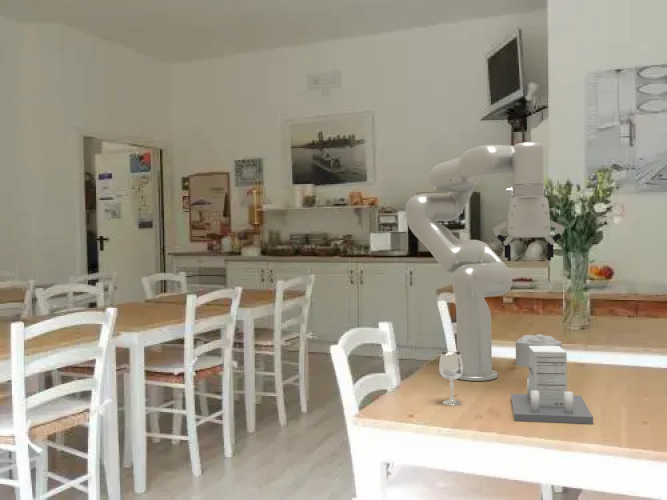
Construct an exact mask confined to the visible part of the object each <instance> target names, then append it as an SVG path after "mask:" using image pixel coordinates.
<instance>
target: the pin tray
mask: <svg viewBox="0 0 667 500" xmlns="http://www.w3.org/2000/svg"><path fill="white" fill-rule="evenodd" d="M526 385H527V386H526V389H527V390H526V391H527V393H511V395H510V400H511V405H512V413H513V419H514V421H515V422H529V423H530V422H536V423H557V424H560V423H561V424H578V425H579V424H583V425H586V424H587V425H594V417H593V415H592V412H591V411H590V409H589V407H588V406H587V404H586V403H585V400H584V399H583V397H582V396H581V395H576V394H575V395H574V392H573V391H570V390H567V391H565V392H564V407H540V406H539V391H538V390H531V399H530V398H529V377H527V379H526Z"/></svg>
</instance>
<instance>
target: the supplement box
mask: <svg viewBox="0 0 667 500" xmlns="http://www.w3.org/2000/svg"><path fill="white" fill-rule="evenodd" d="M567 355H568V354H567V351H566V350H565V349H563V348H561V347H560V346H529V367H528V378H529V398H530V399H531V390H538V391H539V406H540V407H564V392H565V391H568V369H567V368H568V364H567V363H568V362H567V361H568V359H567V358H568V357H567Z"/></svg>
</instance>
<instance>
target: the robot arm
mask: <svg viewBox="0 0 667 500" xmlns="http://www.w3.org/2000/svg"><path fill="white" fill-rule="evenodd" d="M544 172H545V171H544V146H543V145H542V143H541V142H535V141H534V142H533V141H526V142H520V143H516V144H514V145H508V144H506V145H504V144H503V145H502V144H484V145H480V146H477V147H474V148H473V147H472V148H469V149H468V150H466V151H464V152H463V153H462V155H461V156H460V157H457V158H454V159H453V158H452V159H450V160H448V161H445V162H441V163H438V164H436V165H434V167H433V168H432V169H431V170H430V171H429V174H428V180H429V181H428V182H429V183H430V185H431V187H432V188H434V189H435V190H436V191H439V192H443V193H438V192H437V193H431V192H430V193H420V194H419V193H418V194H416V195H413V196H412V197H411V198H409V199H408V200H407V201H406V205H405V219H406V223H407V226H408V227H409V230H410V231H411V232H412V234H413V235H414V236H415V237H416V238H417V239H418V240H419V241H420V242H421V243H422V244H423V246H425V248H426V249H427V250H428V251H429V252H430V254H431V255H432V256H433V258H434V259H435V260H436V262H437V263H438V264H439V265H440V266H441V267H442V269H443V270H445V271H446V272H449V273H452V278H451V284H452V290H453V294H454V295H453V296H454V300H455V301H454V302H455V316H456V317H455V319H456V321H455V323H456V352H460V353H461V356H462V359H463V366H464V369H463V374H462V375H461V377H459V378H457V379H458V380H462V381H470V382H471V381H473V382H485V381H492V380H495V379H496V378H498V377H499V376H498V374H499V373H498V372H497V371H496V370H494V369H493V367H492V365H493V363H492V359H493V357H492V314H491V310H490V306H489V305H488V303H487V302H486V299H485V298H486V297H487V298H488V297H499V296H503V295H505V294H508V292H509V291H511V289H512V285H513V276H512V273H511V270H510V269H509V267H508V266H507V264H506V263H505V262H504V261H503V260H502V259H501V258H500V256H498V254H496V252H495V251H494V250H493V249H492V248H491V246H489V245H488V243H485V242H484V241H482V240H478V239H459V238H458V237H456V236H455V235H454V234H453V232H451V230H450V229H449V228H448V227H446V226H445V225H444V224H441V223H440V222H451V221H454V220H456V219H457V218H459V217H460V215H462V213H463V210H464V209H465V207H466V205H467V204H468V202H469V200H470V198H471V197H472V195H473V193H474V190H475V189H476V188H477V184H478V183H479V182H480V180H481V179H482V178H483V177H482V176H483V175H503V176H504V175H505V176H506V175H510V176H512V177H511V178H512V187H509V188H506V194H507V195H511V196H512V197H511V198H509V200H508V201H509V202H508V207H507V208H508V209H507V220H506V221H504V222H502V223H500V224H499V225H496V226H494V227H493V228H492V230H493V232H494V234H495V236H496V238H497V239H498V240H499V241H500V242H501V243H502V244H503V245H504V258H505V259H507V262H511V259H512V257H511V255H512V254H511V253H512V250H511V249H512V246H511V245H510V244H511V243H510V242H511V241H512V240H513V239H514V238H523V239H524V238H527V239H528V238H544V239H545V241H546V242H547V244H546V260H547V261H548V262H551V261H552V258H554V245H555V243H556V242H557V241H558V240H560V239H561V237H562V236H563V233H564V231H565V230H566V227H565V226H564V225H562V224H560V223H558V222H555V221H553V220H552V219H551V218H550V217H551V216H550V214H551V213H550V205H549V200H548V197H545V196H544V195H545V192H544V191H545V190H544V188H545V187H544V186H545V185H544V181H545V180H544V176H545V175H544ZM444 192H445V193H444ZM551 227H553V228H555V229H556V230H557V231H556V234H554V235H553V236H551V235H550V234H551ZM505 228H507V234H508V236H506V238H505V237H504V236H503V235H502V234H501V230H503V229H505ZM457 379H456V380H457Z"/></svg>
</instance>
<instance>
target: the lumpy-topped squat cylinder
mask: <svg viewBox="0 0 667 500" xmlns="http://www.w3.org/2000/svg"><path fill="white" fill-rule="evenodd" d="M529 346H560V347H561V348H562V347H563V345H562V341H560V340H559V339H556V338H554V337H553V336H552V335H545V334H541V333H540V334H539V333H537V334H535V335H534V334H533V335H532V334H526V335H522V336H521V337H519V338H518V340H516V341H515V366H517V365H518V367H522V368H523V367H525V368H529ZM562 349H563V348H562Z"/></svg>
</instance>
